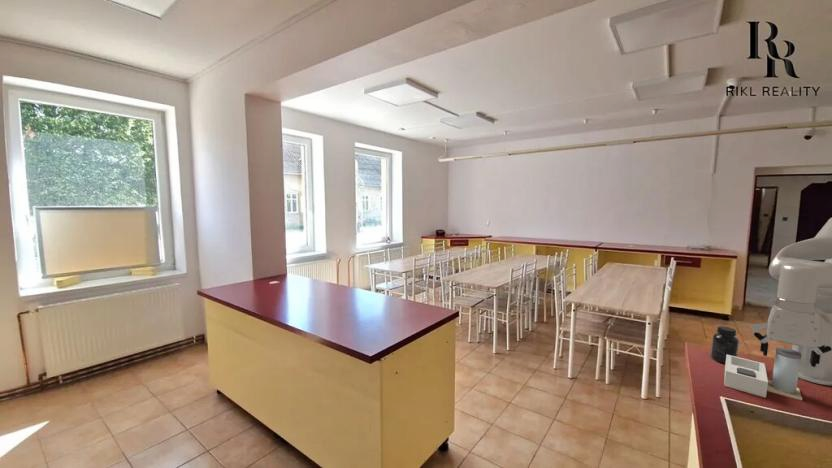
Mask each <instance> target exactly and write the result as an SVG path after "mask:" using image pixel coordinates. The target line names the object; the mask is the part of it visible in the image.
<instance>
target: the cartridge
mask: <svg viewBox="0 0 832 468" xmlns="http://www.w3.org/2000/svg"><path fill="white" fill-rule="evenodd" d="M801 356H802V354H801V353H799V352H797V351H795V350H792V348H786V347H776V348H775V357H774V362H773V363H774V364H773V372H772V377H771V378H772V379H771V381H772V387H773V388H775V389H777V390H779V391H782V392H786V393H791V394H794V393H796V388H798V382H799V378H798V374H799V368H800V361H801Z"/></svg>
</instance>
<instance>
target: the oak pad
mask: <svg viewBox="0 0 832 468" xmlns="http://www.w3.org/2000/svg"><path fill="white" fill-rule="evenodd" d="M767 392H770V393H773V394H776V395H781V396H784V397H787V398H791V399H794V400H797V401H803V397H802V394H801V390H800V388H799V387H797V388H796V393H794V394H791V393H786V392H782V391H779V390H777V389H775V388H773V387H772V380H769V379H768V386H767Z"/></svg>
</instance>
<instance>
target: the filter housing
mask: <svg viewBox="0 0 832 468" xmlns="http://www.w3.org/2000/svg"><path fill="white" fill-rule="evenodd" d="M738 367H740V368H743V369H747V370H751V371H754V377H750V376H746V375H742V374H739V373H738ZM768 380H769V379H768V375H767V370H766V364H765V362H759V361H755V360H751V359H748V358H743V357H740V356H737V357H735V356H731V355H727V354H726V363H725V364H724V380H723V381H724V382H723V384H724V387H728V388H731V389H733V390H737V391H741V392H744V393H748V394H751V395H754V396H758V397H762V398H765V399H766V398H767V394H768V393H767V392H768V391H767V386H768Z"/></svg>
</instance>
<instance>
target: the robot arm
mask: <svg viewBox="0 0 832 468" xmlns="http://www.w3.org/2000/svg"><path fill="white" fill-rule="evenodd" d="M822 260H824V261H822ZM768 273H769V275H770V276H771V277H772V278H773V279H774V280H778V285H777V293H776V294H777V296H776V297H774V298H773V297H769V303H772V304H774V305H772V307H771V309H770V311H769V315H768V319H767V322H765V323H755V324H751V325H750V326H749V328H750V330H751V332H752V334H753V336H754V337H756V338H757V339H758V340H759V342H760V348H759V350H760V352H762V355H763V357H767V356H768V351H769V342H770V341H775V342H779V343H783V344H790V345H792V346H791V350H795V351H797V352H799V353H801V354H802V356H801V361H800V368H799V374H798V379H800V380H804V381H807V382H809V383H810V382H811V383H815V384H818V385H823V386H832V217H830V218H829V219H828V220H827V222H825V224H824V225H823V226H822V228H821V229H820V230H819V231H818V232H817V234H816V235H815V236H814V237H812V238H808V239H804V240H800V241H798V242H794V243H791V244H787V246H784V247H783V248H782V249H780V250H779V251H778V253H777V254H776V255H775V256H774V258H773V259H772V261H771V262H770V263H769V266H768ZM763 329H765V331H766V333H765V334H763V335H762V334H761V333H760V332H759V330H763ZM803 364H804V365H803ZM816 366H818V367H816Z"/></svg>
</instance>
